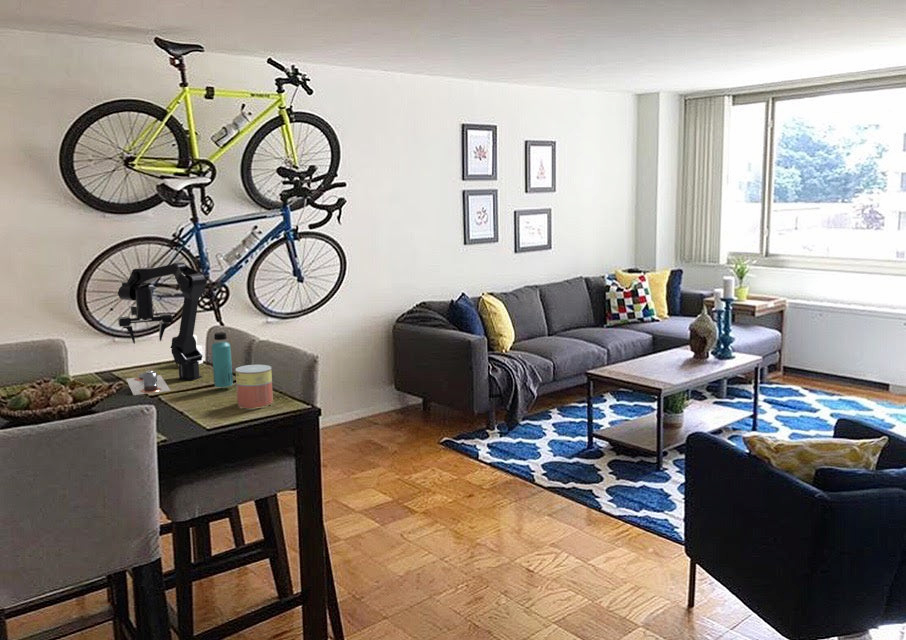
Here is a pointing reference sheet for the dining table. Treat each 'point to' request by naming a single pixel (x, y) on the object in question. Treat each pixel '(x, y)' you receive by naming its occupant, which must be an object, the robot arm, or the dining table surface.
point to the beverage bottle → (222, 361)
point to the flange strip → (138, 385)
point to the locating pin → (150, 381)
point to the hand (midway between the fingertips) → (147, 342)
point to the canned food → (254, 385)
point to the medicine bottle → (198, 349)
